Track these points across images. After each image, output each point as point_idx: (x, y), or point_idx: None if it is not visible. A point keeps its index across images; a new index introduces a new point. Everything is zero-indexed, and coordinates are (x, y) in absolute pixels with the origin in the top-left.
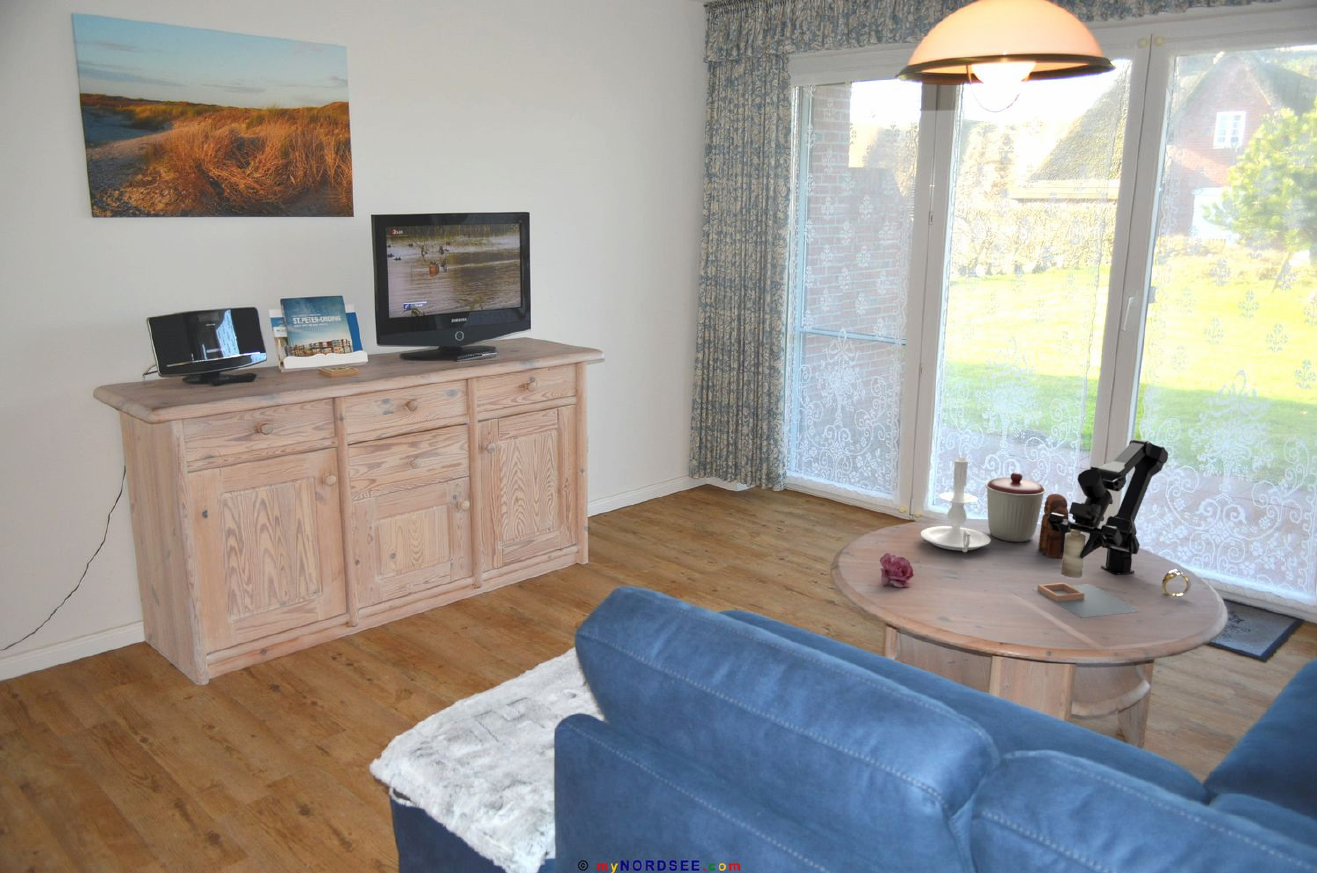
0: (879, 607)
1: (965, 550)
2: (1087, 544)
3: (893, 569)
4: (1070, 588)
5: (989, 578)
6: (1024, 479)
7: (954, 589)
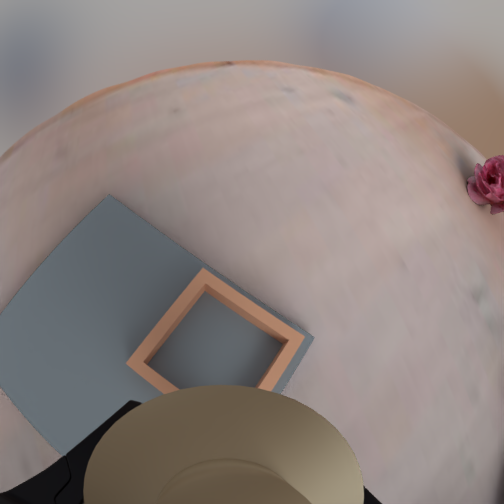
0: (418, 107)
1: None
2: (78, 471)
3: (492, 160)
4: None
5: (441, 361)
6: None
7: (435, 226)
